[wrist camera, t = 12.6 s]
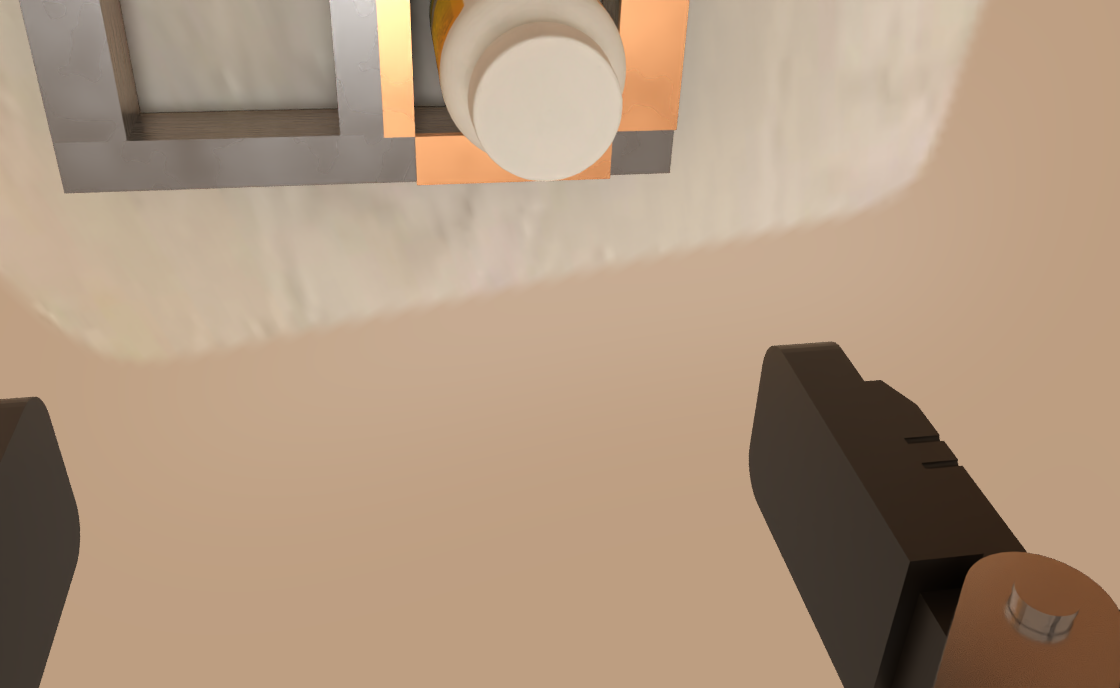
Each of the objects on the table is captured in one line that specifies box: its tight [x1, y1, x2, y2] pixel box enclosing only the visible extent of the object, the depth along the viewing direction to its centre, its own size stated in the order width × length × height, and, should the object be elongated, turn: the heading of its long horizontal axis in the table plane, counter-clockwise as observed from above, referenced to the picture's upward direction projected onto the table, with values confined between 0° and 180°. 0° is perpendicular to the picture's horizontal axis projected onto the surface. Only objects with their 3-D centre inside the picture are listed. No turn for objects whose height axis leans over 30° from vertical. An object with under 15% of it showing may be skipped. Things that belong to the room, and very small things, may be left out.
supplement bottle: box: [429, 0, 626, 181], centre depth 31 cm, size 5×5×10 cm
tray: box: [19, 0, 689, 193], centre depth 33 cm, size 10×20×3 cm, turn 88°
